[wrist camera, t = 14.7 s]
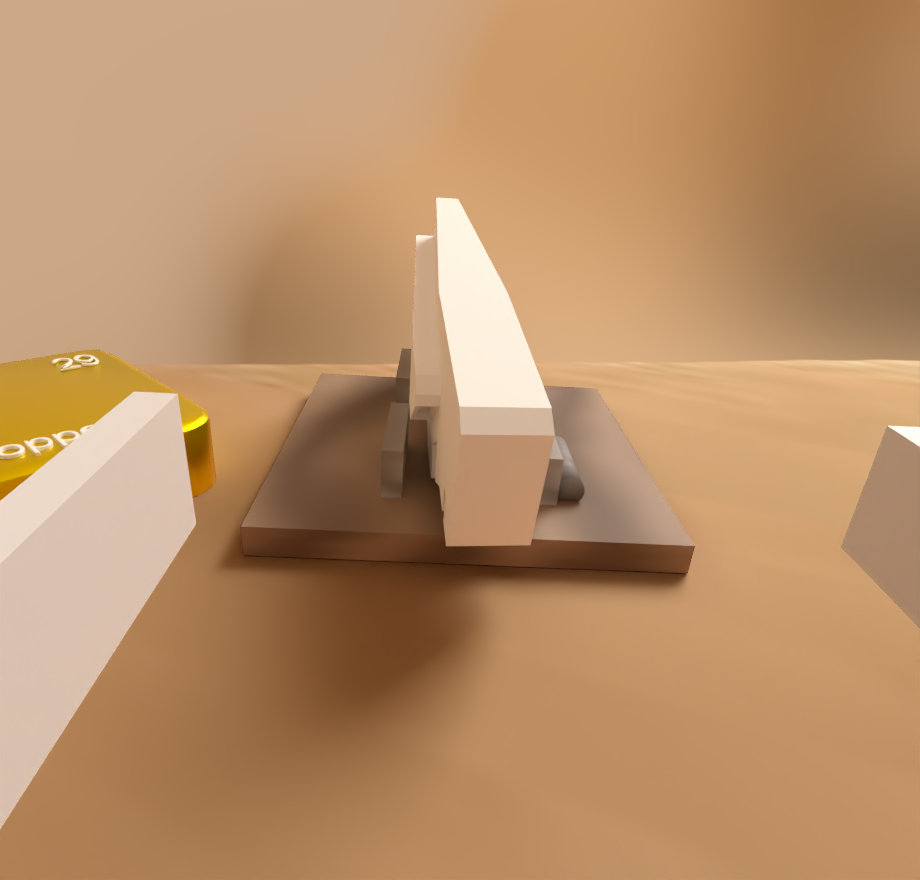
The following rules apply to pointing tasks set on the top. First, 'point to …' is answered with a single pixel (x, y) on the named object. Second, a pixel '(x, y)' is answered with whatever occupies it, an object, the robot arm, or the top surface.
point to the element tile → (80, 412)
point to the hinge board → (418, 495)
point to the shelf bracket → (476, 390)
